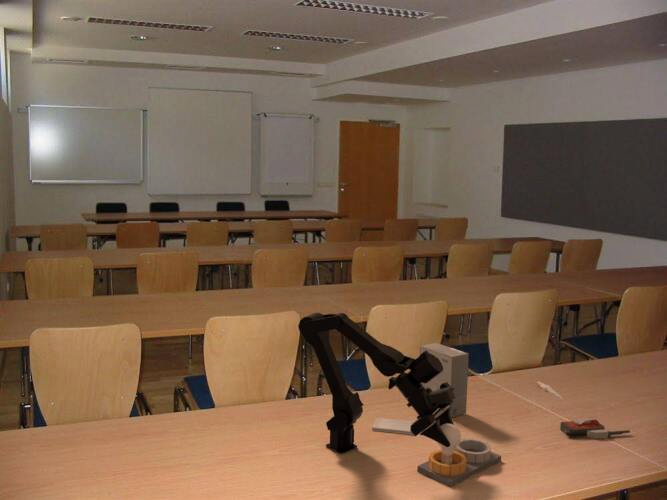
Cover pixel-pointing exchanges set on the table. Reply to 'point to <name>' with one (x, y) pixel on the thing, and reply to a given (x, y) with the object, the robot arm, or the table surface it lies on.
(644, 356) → the table surface
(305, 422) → the table surface
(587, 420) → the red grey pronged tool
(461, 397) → the hard drive box
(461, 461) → the bulb holder
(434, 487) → the table surface
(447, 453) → the lightbulb
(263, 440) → the table surface
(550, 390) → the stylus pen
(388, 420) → the hard drive
